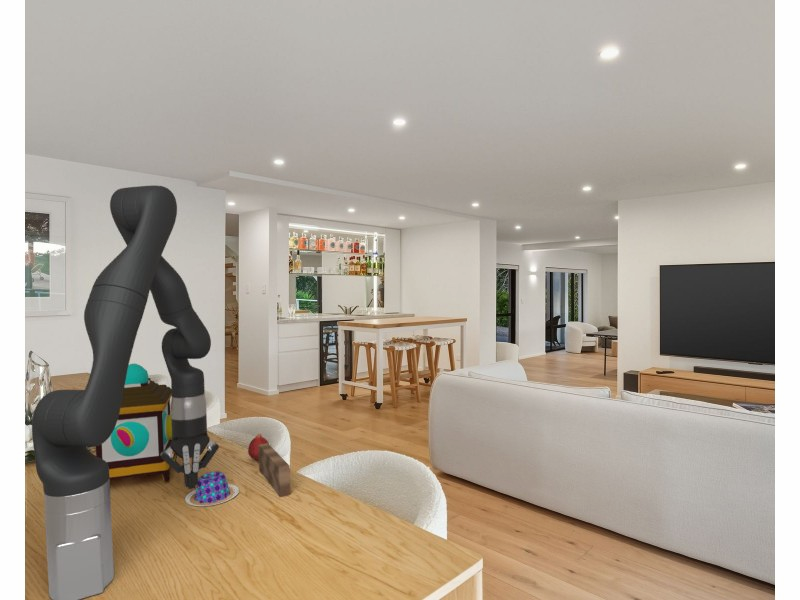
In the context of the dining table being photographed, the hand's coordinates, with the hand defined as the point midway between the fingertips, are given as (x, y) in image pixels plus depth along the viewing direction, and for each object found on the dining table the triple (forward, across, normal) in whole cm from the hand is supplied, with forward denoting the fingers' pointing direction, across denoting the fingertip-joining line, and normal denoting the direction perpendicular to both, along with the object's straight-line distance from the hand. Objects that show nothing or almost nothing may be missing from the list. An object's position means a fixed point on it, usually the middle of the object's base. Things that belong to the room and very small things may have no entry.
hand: (191, 487), depth 113 cm
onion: (+3, +20, +16) cm, 26 cm away
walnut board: (+3, +19, 0) cm, 19 cm away
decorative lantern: (+3, -10, +24) cm, 26 cm away
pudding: (+4, +5, 0) cm, 6 cm away
